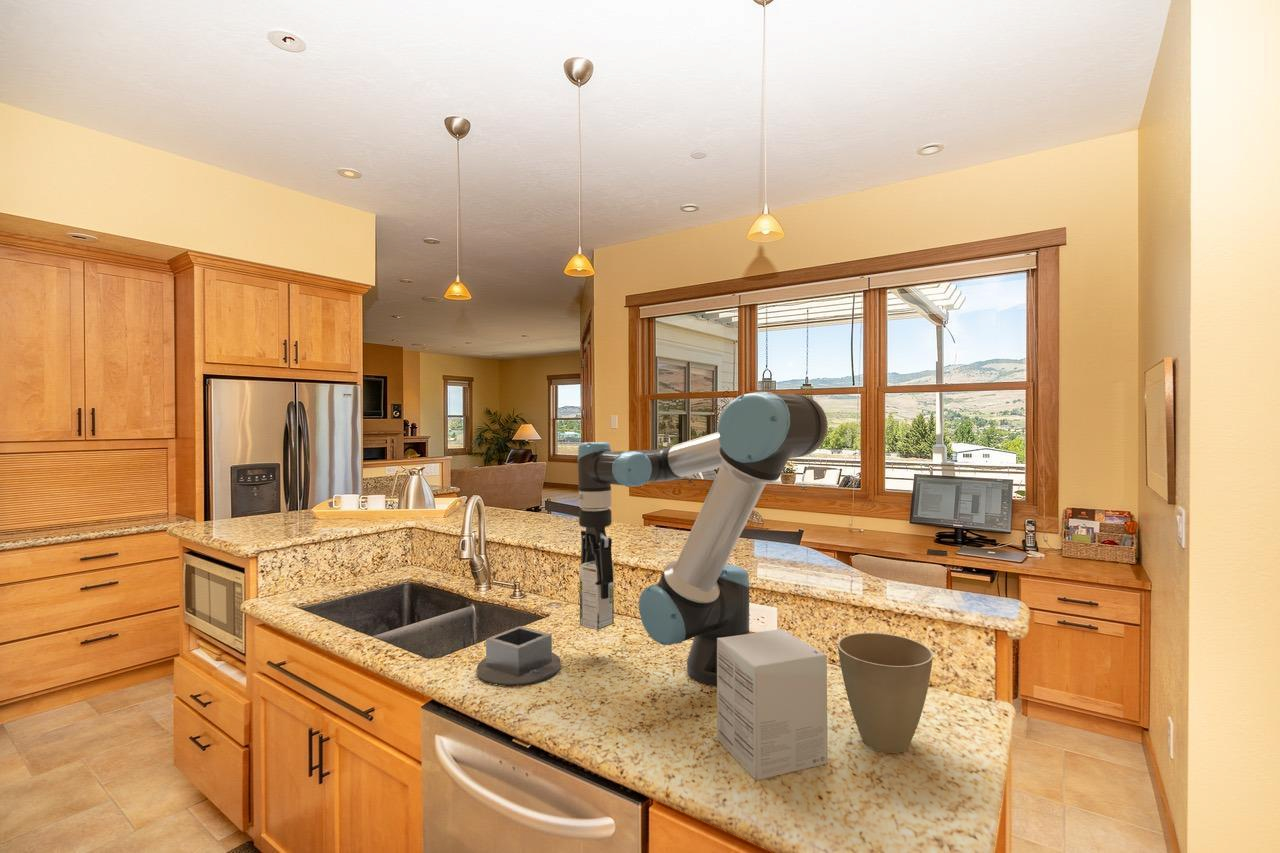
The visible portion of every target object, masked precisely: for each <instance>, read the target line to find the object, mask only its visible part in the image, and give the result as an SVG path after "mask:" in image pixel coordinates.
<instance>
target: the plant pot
mask: <svg viewBox="0 0 1280 853" xmlns="http://www.w3.org/2000/svg"><path fill="white" fill-rule="evenodd" d="M837 650H838V658H839V664H840V669H841V674H842V679H843V683H844V684H843V685H844V688H845V692H846V696H847V699H848V702H849V706H850V709H851V712H852V717H853V719H854V721H855V725H856V727H857V730H858V732H859V735H860V737H861V740H862V742H863V743H864V744H865V745H866V746H868V747H869V748H871V749H873V750H875V751H878V752H881V753H885V754H887V753H888V754H899V753H903V752H906V751H907V750H908V749H909V747H910V745H911V743H912V740H913V738H914V735H915V734H916V731H917V728H918V725H919V722H920V719H921V716H922V714H923V709H924V707H925V703H926V698H927V694H928V689H929V686H930V679H931V672H932V667H933V659H934V653H933V651H932V650H931V649H930V648H929V647H927V646H926V645H925V644H923V643H921V642H919V641H916V640H915V639H911V638H909V637H905V636H902V635H897V634H891V633H883V632H858V633H857V632H856V633H851V634H848V635H845V636H843V637H841V638H840V639H838V641H837Z"/></svg>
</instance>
